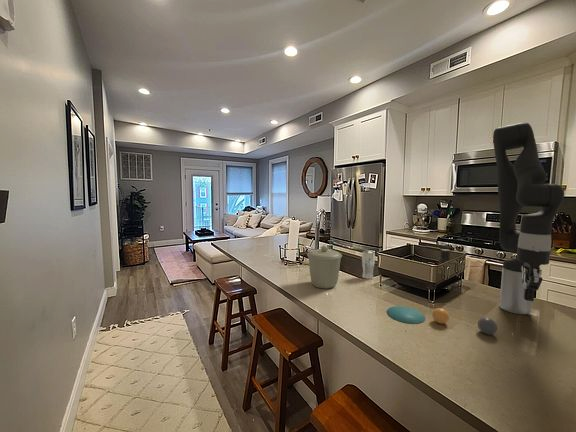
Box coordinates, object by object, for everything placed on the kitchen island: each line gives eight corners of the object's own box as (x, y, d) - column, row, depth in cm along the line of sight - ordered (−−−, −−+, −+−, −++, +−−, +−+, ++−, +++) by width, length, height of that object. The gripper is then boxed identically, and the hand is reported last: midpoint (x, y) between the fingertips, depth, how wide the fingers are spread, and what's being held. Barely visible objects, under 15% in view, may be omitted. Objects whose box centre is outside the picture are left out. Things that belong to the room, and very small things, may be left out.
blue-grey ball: (495, 331, 90) (496, 317, 90) (498, 339, 85) (499, 324, 85) (476, 327, 93) (477, 313, 92) (477, 334, 88) (478, 319, 88)
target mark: (426, 311, 105) (426, 311, 105) (423, 327, 93) (423, 327, 93) (390, 303, 112) (390, 303, 112) (383, 317, 100) (383, 317, 100)
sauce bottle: (453, 291, 126) (455, 251, 124) (439, 290, 127) (441, 251, 125) (447, 286, 132) (450, 248, 130) (434, 285, 134) (436, 248, 132)
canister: (346, 282, 138) (347, 244, 136) (333, 294, 123) (334, 251, 120) (316, 276, 147) (316, 241, 145) (300, 287, 132) (300, 247, 130)
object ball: (448, 321, 97) (449, 307, 97) (448, 328, 93) (449, 313, 92) (432, 317, 100) (432, 304, 100) (431, 323, 96) (432, 309, 95)
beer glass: (374, 276, 148) (375, 251, 146) (374, 280, 141) (375, 253, 140) (361, 275, 150) (362, 250, 149) (361, 279, 144) (361, 252, 142)
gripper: (513, 242, 88) (509, 290, 90) (523, 250, 77) (517, 305, 79) (543, 244, 84) (538, 295, 86) (558, 253, 73) (551, 311, 75)
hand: (528, 299), depth 83 cm, fingers closed
